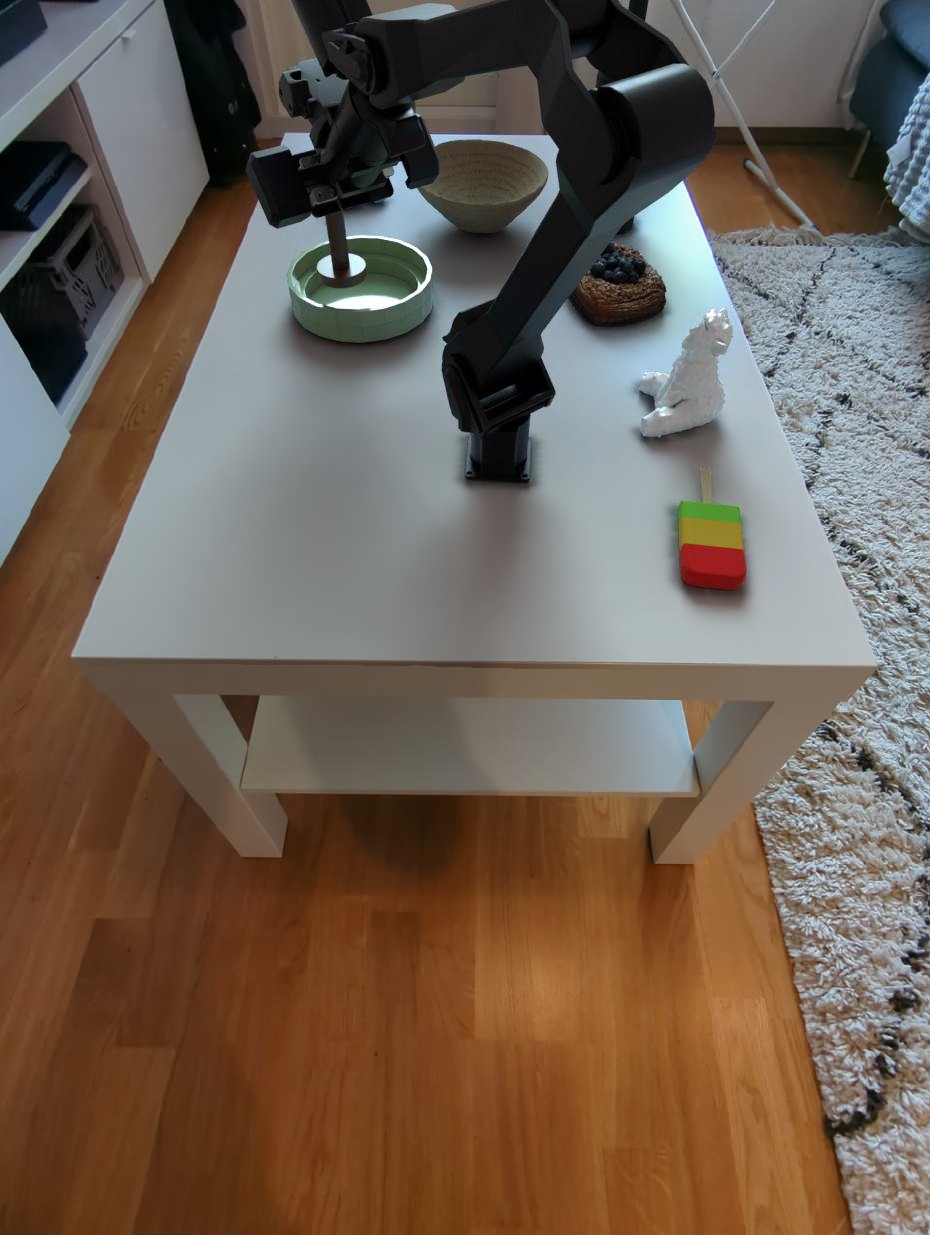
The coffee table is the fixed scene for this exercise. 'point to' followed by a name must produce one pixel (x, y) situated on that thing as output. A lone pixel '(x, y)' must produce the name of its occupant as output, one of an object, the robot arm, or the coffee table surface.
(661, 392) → the sitting furry creature
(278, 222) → the robot arm
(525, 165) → the bowl
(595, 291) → the pastry
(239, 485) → the coffee table surface
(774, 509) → the coffee table surface
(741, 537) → the popsicle
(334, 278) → the paper towel holder
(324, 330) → the green round dish
